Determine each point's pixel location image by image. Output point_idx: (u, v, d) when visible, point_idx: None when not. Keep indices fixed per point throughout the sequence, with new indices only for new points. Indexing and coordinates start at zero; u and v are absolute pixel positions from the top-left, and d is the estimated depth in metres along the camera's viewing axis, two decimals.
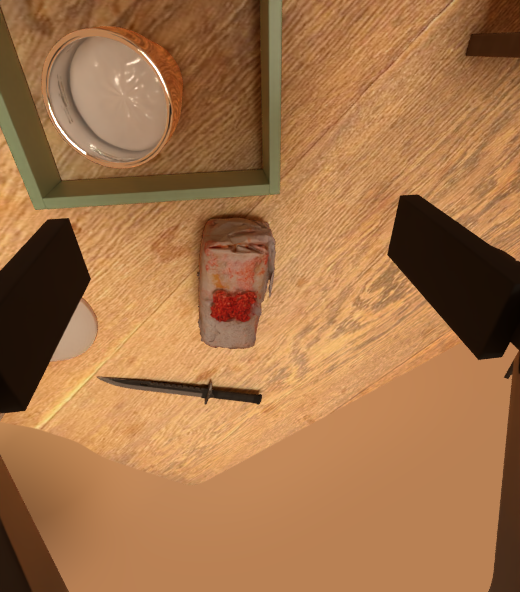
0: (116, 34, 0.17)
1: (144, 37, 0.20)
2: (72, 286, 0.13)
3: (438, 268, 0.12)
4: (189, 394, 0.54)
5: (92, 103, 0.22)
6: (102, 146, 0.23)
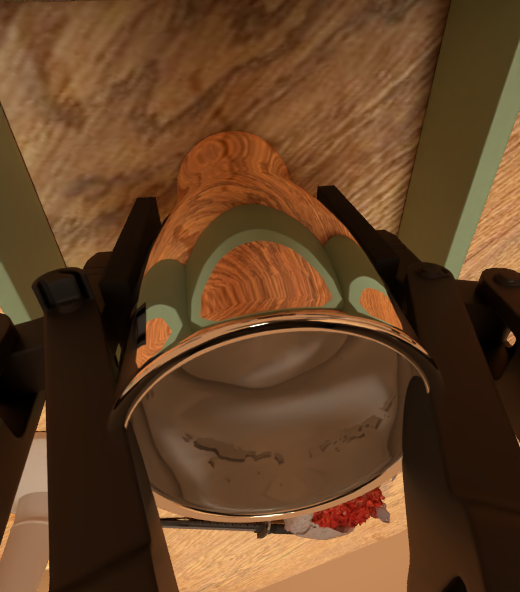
0: (360, 324, 0.05)
1: (329, 216, 0.09)
2: None
3: None
4: (239, 530, 0.42)
5: None
6: (202, 402, 0.11)
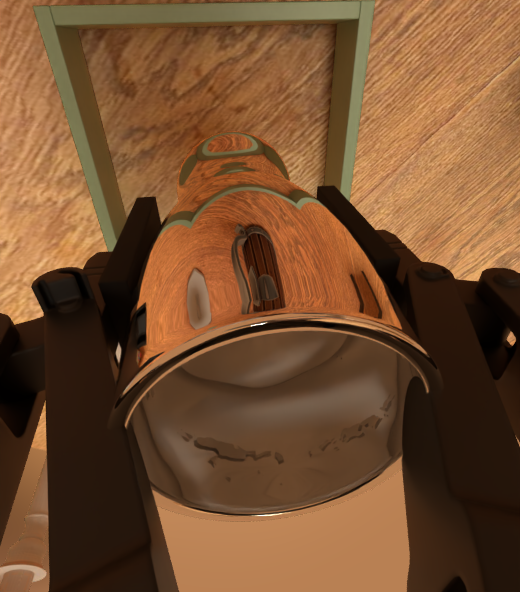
0: (359, 324, 0.05)
1: (329, 216, 0.09)
2: None
3: None
4: None
5: None
6: (202, 402, 0.11)
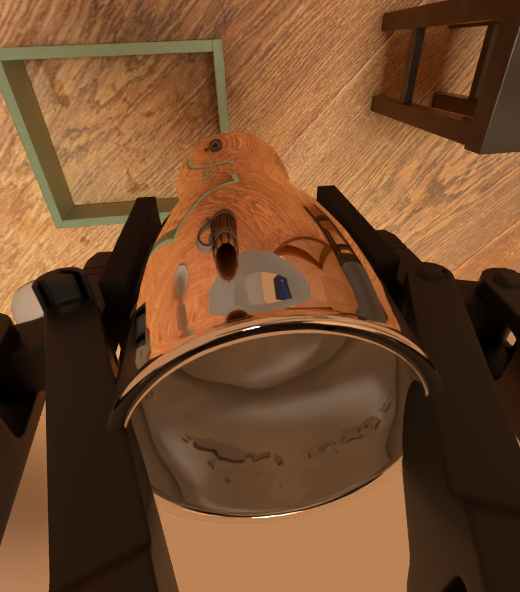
0: (358, 326, 0.05)
1: (328, 218, 0.09)
2: None
3: None
4: None
5: None
6: (201, 403, 0.11)
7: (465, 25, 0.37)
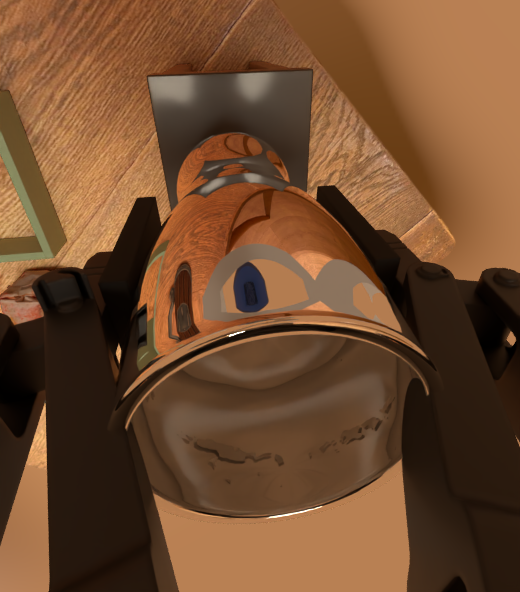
0: (359, 327, 0.05)
1: (329, 218, 0.09)
2: None
3: None
4: None
5: None
6: (202, 404, 0.11)
7: None
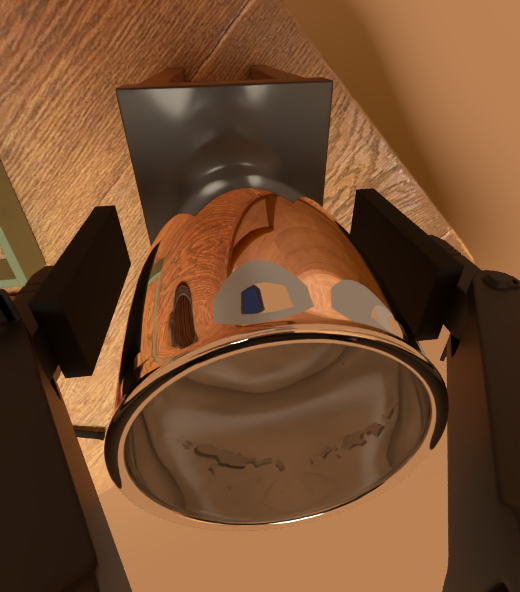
0: (362, 335, 0.05)
1: (331, 222, 0.09)
2: (118, 268, 0.14)
3: (385, 257, 0.13)
4: None
5: None
6: (202, 408, 0.11)
7: None
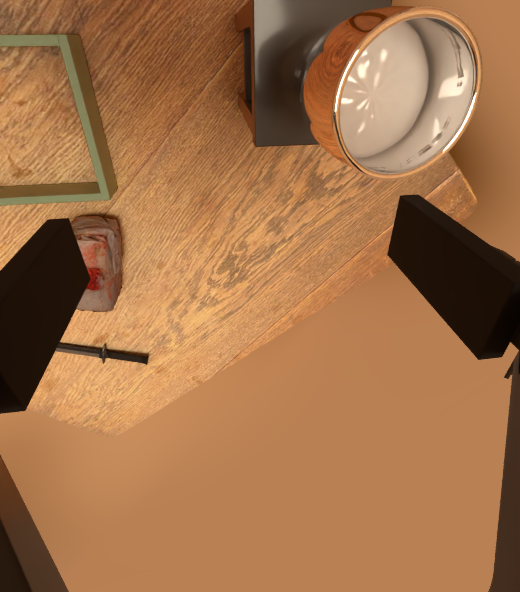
0: (454, 14, 0.13)
1: None
2: (71, 286, 0.13)
3: (438, 268, 0.12)
4: (89, 354, 0.68)
5: None
6: None
7: None
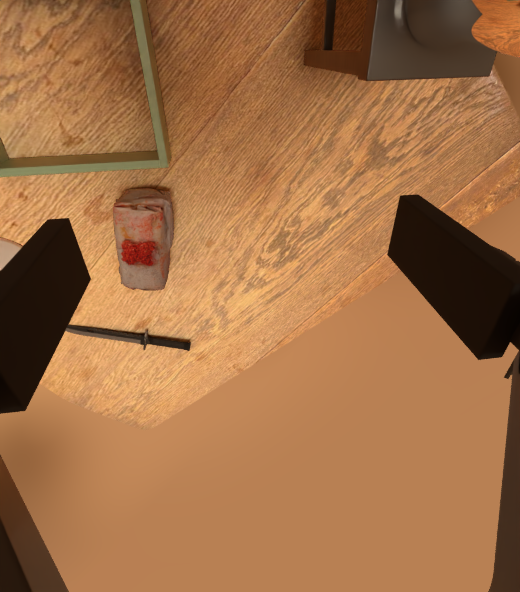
0: None
1: None
2: (71, 286, 0.13)
3: (438, 268, 0.12)
4: (129, 340, 0.66)
5: None
6: None
7: None
